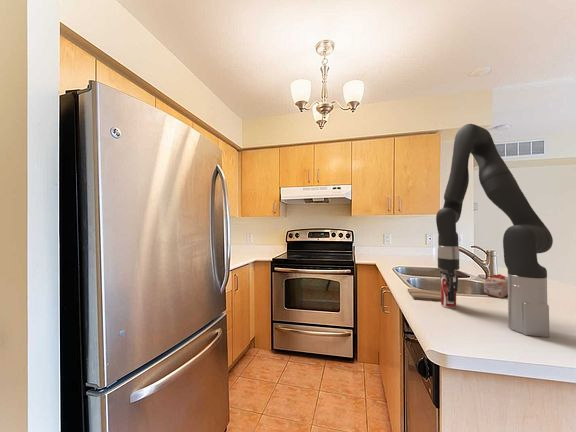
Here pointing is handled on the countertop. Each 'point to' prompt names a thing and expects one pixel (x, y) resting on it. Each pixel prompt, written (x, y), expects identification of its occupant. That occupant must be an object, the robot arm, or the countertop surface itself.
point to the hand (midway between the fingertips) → (448, 299)
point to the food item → (496, 286)
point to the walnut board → (425, 294)
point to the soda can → (446, 295)
